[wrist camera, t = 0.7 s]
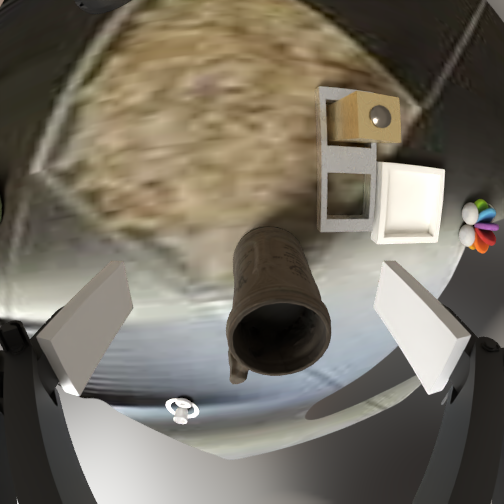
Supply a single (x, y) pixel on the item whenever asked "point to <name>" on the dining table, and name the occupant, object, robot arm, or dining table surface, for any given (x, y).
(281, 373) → the beer stein
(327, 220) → the gray rectangular frame
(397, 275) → the robot arm
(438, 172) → the parts tray
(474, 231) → the rainbow petal fan toy
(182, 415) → the white valve handwheel
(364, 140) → the tan knobbed block
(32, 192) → the dining table surface
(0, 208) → the green dome pot
